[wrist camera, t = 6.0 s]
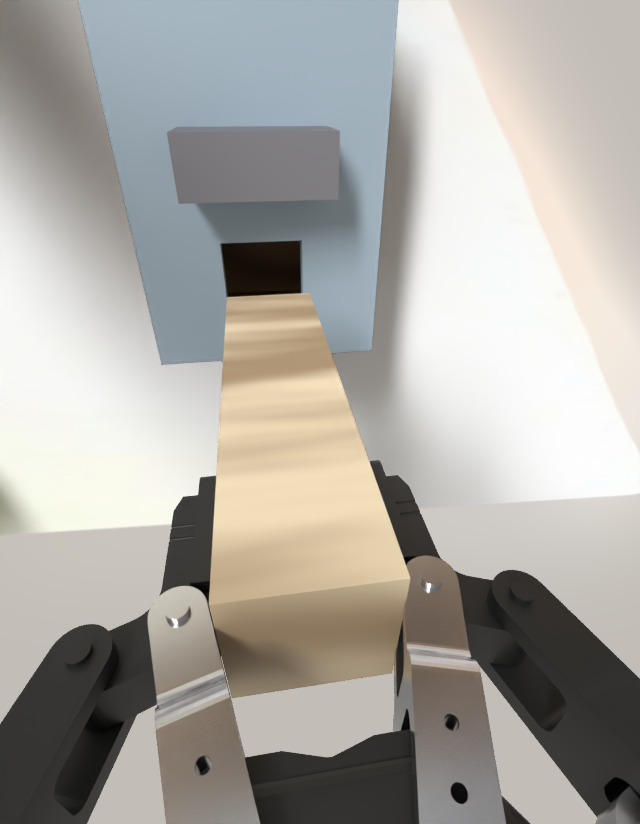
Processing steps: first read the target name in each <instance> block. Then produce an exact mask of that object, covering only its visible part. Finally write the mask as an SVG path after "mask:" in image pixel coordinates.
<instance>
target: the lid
mask: <svg viewBox="0 0 640 824" xmlns="http://www.w3.org/2000/svg"><path fill="white" fill-rule="evenodd" d="M78 3H79V8H80V12H81V16H82V21H83V25H84V29H85V34H86V38H87V43H88V47H89V51H90V56H91V60H92V64H93V69H94V73H95V77H96V82H97V86H98V90H99V95H100V99H101V103H102V108H103V112H104V116H105V121H106V125H107V129H108V134H109V138H110V142H111V147H112V151H113V155H114V160H115V164H116V168H117V173H118V177H119V182H120V186H121V190H122V195H123V199H124V203H125V208H126V212H127V216H128V221H129V225H130V229H131V234H132V238H133V242H134V247H135V251H136V255H137V260H138V264H139V268H140V273H141V277H142V281H143V286H144V290H145V294H146V299H147V303H148V308H149V312H150V316H151V321H152V325H153V329H154V334H155V338H156V342H157V347H158V351H159V355H160V360H161V364H162V365H165V364H179V363H194V362H209V361H223V354H224V337H225V320H226V303H227V297H228V295H227V287H226V278H225V270H224V262H223V253H222V245H221V243H247V242H274V241H300V267H301V293H310V295H311V298H312V300H313V303H314V306H315V309H316V312H317V315H318V317H319V320H320V323H321V326H322V329H323V332H324V334H325V337H326V340H327V343H328V346H329V349H330V351H331V353H343V352H357V351H372V340H373V327H374V314H375V300H376V287H377V274H378V261H379V248H380V235H381V222H382V209H383V196H384V183H385V170H386V157H387V144H388V131H389V117H390V104H391V91H392V78H393V65H394V52H395V39H396V26H397V13H398V0H78Z"/></svg>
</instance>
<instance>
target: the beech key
mask: <svg viewBox="0 0 640 824" xmlns="http://www.w3.org/2000/svg"><path fill="white" fill-rule="evenodd" d="M410 579H411V578H410V575H409V572H408V570H407V567H406V564H405V561H404V558H403V555H402V553H401V550H400V547H399V544H398V541H397V538H396V536H395V533H394V530H393V527H392V524H391V521H390V519H389V516H388V513H387V510H386V507H385V504H384V502H383V499H382V496H381V493H380V490H379V487H378V485H377V482H376V479H375V476H374V473H373V470H372V468H371V465H370V462H369V459H368V456H367V453H366V451H365V448H364V445H363V442H362V439H361V436H360V434H359V431H358V428H357V425H356V422H355V419H354V417H353V414H352V411H351V408H350V405H349V402H348V400H347V397H346V394H345V391H344V388H343V385H342V383H341V380H340V377H339V374H338V371H337V368H336V366H335V363H334V360H333V357H332V354H331V351H330V349H329V346H328V343H327V340H326V337H325V334H324V332H323V329H322V326H321V323H320V320H319V317H318V315H317V312H316V309H315V306H314V303H313V300H312V298H311V295H310V293H299V294H280V295H260V296H241V297H227V303H226V320H225V337H224V354H223V371H222V388H221V405H220V422H219V439H218V456H217V473H216V490H215V507H214V524H213V541H212V558H211V575H210V592H209V608H210V612H211V616H212V620H213V624H214V628H215V632H216V636H217V640H218V644H219V648H220V652H221V656H222V660H223V664H224V668H225V672H226V676H227V680H228V684H229V688H230V692H231V696H232V698H236V697H243V696H249V695H256V694H262V693H268V692H274V691H281V690H288V689H294V688H300V687H307V686H313V685H319V684H326V683H332V682H339V681H345V680H351V679H358V678H363V677H371V676H377V675H383V674H390V673H392V670H393V665H394V653H395V648H397V645H398V640H399V635H400V629H401V624H402V619H403V615H402V612H403V607H404V602H405V601H406V599H407V594H408V589H409V584H410Z"/></svg>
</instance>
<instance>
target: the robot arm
mask: <svg viewBox="0 0 640 824" xmlns="http://www.w3.org/2000/svg"><path fill="white" fill-rule="evenodd" d="M369 462H370V465H371V468H372V470H373V473H374V476H375V479H376V482H377V485H378V487H379V490H380V493H381V496H382V499H383V502H384V504H385V507H386V510H387V513H388V516H389V519H390V521H391V524H392V527H393V530H394V533H395V536H396V538H397V541H398V544H399V547H400V550H401V553H402V555H403V558H404V561H405V564H406V567H407V570H408V572H409V575H410V578H411V579H410V584H409V589H408V594H407V599H406V601H405V602H404V607H403V612H402V615H403V619H402V624H401V629H400V635H399V640H398V645H397V648H395V653H394V694H395V696H394V699H395V700H394V719H393V732H390V733H385V734H379V735H374V736H372V737H370V738H368V739H366V740H364V741H362V742H360V743H358V744H356V745H355V746H353V747H351V748H349V749H347V750H345V751H343V752H341V753H339V754H337V755H335V756H333V757H328V758H327V757H319V756H312V755H305V754H298V753H291V752H284V751H280V752H275V753H269V754H263V755H258V756H252V757H246V758H245V754H244V750H243V747H242V742H241V738H240V734H239V730H238V726H237V722H236V718H235V714H234V710H233V705H232V701H231V697H230V693H229V689H228V685H227V681H226V677H225V672H224V668H223V664H222V660H221V652H220V648H219V644H218V640H217V636H216V632H215V628H214V624H213V620H212V616H211V612H210V608H209V592H210V575H211V558H212V541H213V524H214V507H215V490H216V476H210V477H201V478H200V483H199V493H198V495H197V496H187V497H183V498H182V500H181V501H180V503H179V504H178V506H177V507H176V509H175V510H174V514H173V520H172V529H171V533H170V542H169V547H168V554H167V559H166V566H165V572H164V578H163V585H162V590H161V593H160V595H159V597H158V598H157V599H156V600H155V602H154V603H153V604H152V606H151V608H150V609H149V610H148V611H147V612H146V613H145V614H143V615H142V616H140V617H139V618H137V619H135V620H133V621H131V622H129V623H126V624H124V625H122V626H119V627H117V628H115V629H113V630H110V631H108V630H107V629H105V628H104V627H102V626H100V625H94V624H90V625H83V626H79V627H77V628H74V629H72V630H71V631H69V632H67V633H66V634H64V635H63V636H62V637H61V638H60V639H59V640H58V641H57V642H56V643H55V644H54V645H53V646H52V648H51V649H50V651H49V652H48V654H47V655H46V657H45V658H44V660H43V661H42V663H41V664H40V666H39V667H38V669H37V670H36V672H35V673H34V675H33V676H32V678H31V679H30V680H29V682H28V683H27V685H26V686H25V688H24V690H23V691H22V693H21V694H20V695H19V697H18V698H17V700H16V702H15V703H14V704H13V706H12V707H11V709H10V711H9V712H8V713H7V715H6V717H5V718H4V719H3V721H2V722H1V724H0V824H87V822H88V820H89V818H90V816H91V813H92V811H93V809H94V807H95V805H96V802H97V800H98V798H99V796H100V794H101V791H102V789H103V787H104V785H105V783H106V781H107V779H108V776H109V774H110V772H111V770H112V768H113V766H114V763H115V761H116V759H117V757H118V755H119V753H120V750H121V748H122V746H123V744H124V742H125V739H126V737H127V735H128V733H129V731H130V728H131V726H132V724H133V722H134V720H135V718H136V716H137V714H139V713H141V712H143V711H145V710H147V709H149V708H151V707H152V706H155V705H157V708H156V709H155V727H156V737H157V746H158V754H159V763H160V772H161V782H162V790H163V799H164V808H165V817H166V824H530V823H529V822H528V821H527V820H526V819H525V818H524V817H523V816H522V815H521V814H520V813H519V812H518V811H517V810H516V809H515V808H514V807H513V806H512V805H511V804H510V803H509V802H508V801H507V800H505V798H504V797H503V796H502V795H501V790H500V784H499V779H498V773H497V767H496V761H495V756H494V749H493V743H492V737H491V731H490V725H489V720H488V714H487V708H486V702H485V696H484V690H483V684H482V678H481V673H480V668H479V665H480V666H481V668H482V669H483V670H484V672H485V673H486V674H487V675H488V677H489V678H490V679H491V681H492V682H493V683H494V685H495V686H496V687H497V688H498V690H499V691H500V692H501V694H502V695H503V696H504V698H505V699H506V700H507V701H508V703H509V704H510V705H511V707H512V708H513V709H514V711H515V712H516V713H517V714H518V716H519V717H520V718H521V720H522V721H523V722H524V723H525V725H526V726H527V727H528V728H529V730H530V731H531V732H532V734H533V735H534V736H535V738H536V739H537V740H538V741H539V743H540V744H541V745H542V747H543V748H544V749H545V750H546V752H547V753H548V754H549V756H550V757H551V758H552V760H553V761H554V762H555V763H556V765H557V766H558V767H559V768H560V770H561V771H562V772H563V774H564V775H565V776H566V778H567V779H568V780H569V781H570V783H571V784H572V785H573V787H574V788H575V789H576V791H577V792H578V793H579V794H580V796H581V797H582V798H583V800H584V801H585V802H586V803H587V805H588V806H589V807H590V809H591V810H592V811H593V812H594V814H595V815H596V816H597V821H596V824H640V679H639V678H638V677H637V676H636V675H635V674H634V673H633V672H632V671H631V670H630V669H629V668H628V667H627V666H626V665H625V664H624V663H623V662H622V661H621V660H620V659H619V658H617V656H616V655H615V654H614V653H613V652H612V651H611V650H610V649H608V647H606V646H605V645H604V644H603V643H602V642H601V641H600V640H599V639H598V638H597V637H596V636H595V635H594V634H593V633H592V632H591V631H590V630H589V629H588V628H587V627H586V626H585V625H584V624H583V623H582V622H581V621H580V620H579V619H578V618H577V617H576V616H575V615H573V613H571V612H570V611H569V610H568V609H567V608H566V607H565V606H564V605H563V604H562V603H561V602H560V601H559V600H558V599H557V598H556V597H555V596H554V595H553V594H552V593H551V592H550V591H549V590H548V589H547V588H546V587H545V586H544V585H543V584H542V583H541V582H539V581H538V580H537V579H536V578H534V577H533V576H531V575H529V574H527V573H524V572H521V571H516V570H507V571H503V572H501V573H499V574H498V575H497V576H496V577H495V578H494V580H488V579H482V578H476V577H470V576H466V575H463V574H460V573H458V572H456V571H454V570H453V568H452V567H451V566H450V565H448V564H447V563H446V562H445V561H443V560H442V559H441V558H440V556H439V554H438V552H437V550H436V548H435V545H434V543H433V541H432V539H431V536H430V534H429V532H428V529H427V527H426V525H425V522H424V520H423V518H422V515H421V514H420V511H419V508H418V506H417V504H416V503H415V499H414V497H413V494H412V492H411V490H410V487H409V486H408V485H407V484H406V483H405V482H404V481H403V480H402V479H401V478H400V477H399V476H398V475H396V476H386V475H385V473H384V470H383V468H382V465H381V463H380V461H379V460H377V461H369ZM478 664H479V665H478Z"/></svg>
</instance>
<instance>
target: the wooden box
mask: <svg viewBox="0 0 640 824" xmlns="http://www.w3.org/2000/svg"><path fill="white" fill-rule="evenodd" d="M221 245H222V253H223V262H224V270H225V278H226V287H227V295H228V297H241V296H260V295H280V294H299V293H301V267H300V241H274V242H247V243H221Z"/></svg>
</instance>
